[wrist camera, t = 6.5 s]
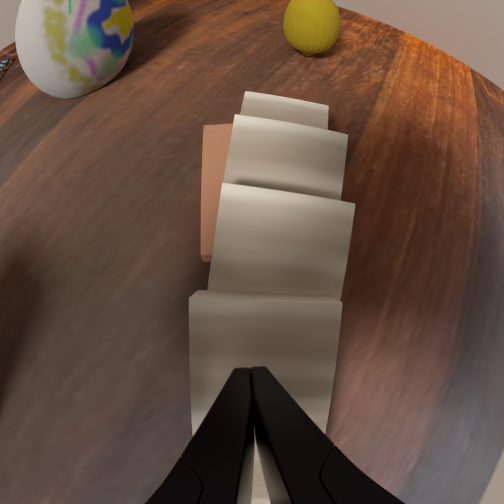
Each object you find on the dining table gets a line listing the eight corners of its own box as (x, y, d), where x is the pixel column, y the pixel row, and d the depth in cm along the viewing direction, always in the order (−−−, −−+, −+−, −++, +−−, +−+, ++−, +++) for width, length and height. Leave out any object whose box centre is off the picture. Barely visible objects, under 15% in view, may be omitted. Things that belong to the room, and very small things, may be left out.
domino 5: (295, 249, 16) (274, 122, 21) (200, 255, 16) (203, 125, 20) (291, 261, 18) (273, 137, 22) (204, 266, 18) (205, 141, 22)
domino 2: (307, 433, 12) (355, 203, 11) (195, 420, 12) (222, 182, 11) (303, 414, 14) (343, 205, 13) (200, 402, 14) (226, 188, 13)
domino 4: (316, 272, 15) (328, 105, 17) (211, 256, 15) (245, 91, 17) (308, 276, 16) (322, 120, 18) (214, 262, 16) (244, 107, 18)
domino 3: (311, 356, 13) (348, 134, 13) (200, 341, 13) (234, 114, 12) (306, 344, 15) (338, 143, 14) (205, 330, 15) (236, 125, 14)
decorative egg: (111, 107, 23) (65, -40, 10) (22, 118, 24) (-30, 12, 10) (158, 45, 28) (140, -67, 15) (75, 57, 29) (47, -35, 15)
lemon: (269, 51, 27) (273, -15, 20) (305, 41, 29) (313, -19, 22) (309, 73, 25) (320, 0, 18) (343, 61, 27) (357, -3, 20)
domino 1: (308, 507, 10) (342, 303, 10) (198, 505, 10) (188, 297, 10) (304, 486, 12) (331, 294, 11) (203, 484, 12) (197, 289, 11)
